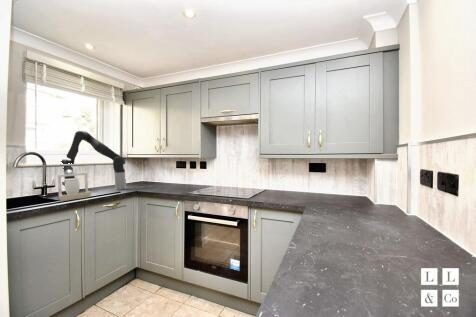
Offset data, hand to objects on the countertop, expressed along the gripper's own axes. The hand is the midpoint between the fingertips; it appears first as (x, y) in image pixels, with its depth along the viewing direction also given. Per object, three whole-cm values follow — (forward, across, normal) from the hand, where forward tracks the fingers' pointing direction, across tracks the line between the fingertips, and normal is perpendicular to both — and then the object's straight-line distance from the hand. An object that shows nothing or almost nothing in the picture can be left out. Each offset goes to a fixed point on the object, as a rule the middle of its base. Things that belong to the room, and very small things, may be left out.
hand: (71, 189), depth 193 cm
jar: (+8, 0, -2) cm, 8 cm away
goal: (+18, 0, -12) cm, 21 cm away
